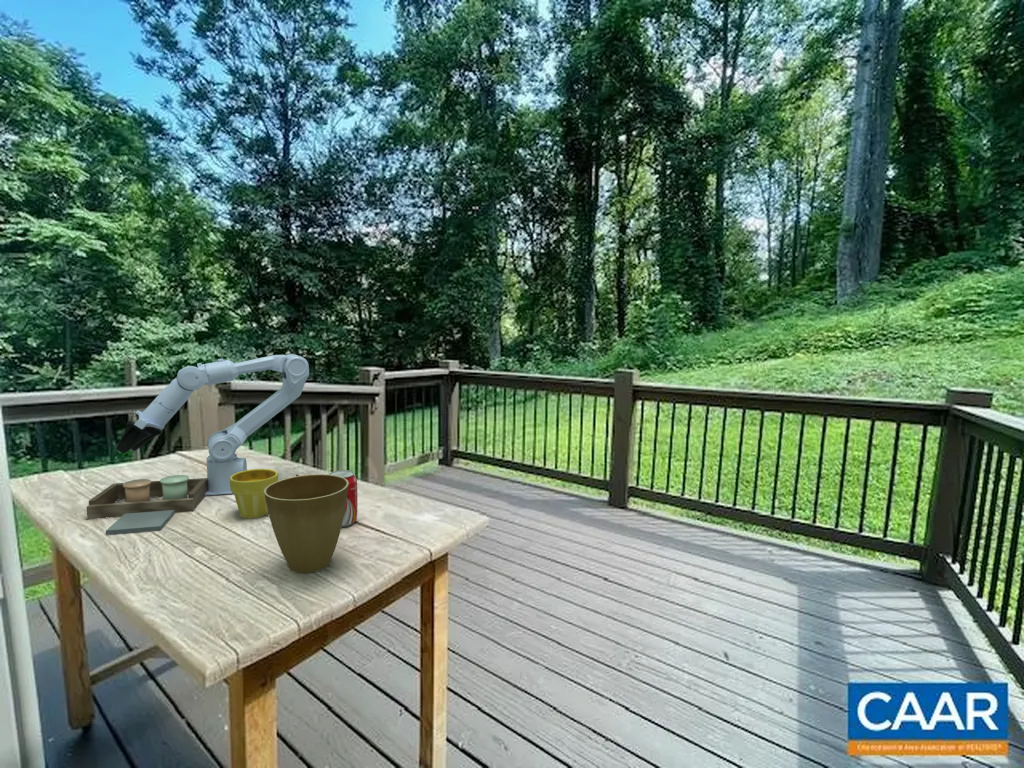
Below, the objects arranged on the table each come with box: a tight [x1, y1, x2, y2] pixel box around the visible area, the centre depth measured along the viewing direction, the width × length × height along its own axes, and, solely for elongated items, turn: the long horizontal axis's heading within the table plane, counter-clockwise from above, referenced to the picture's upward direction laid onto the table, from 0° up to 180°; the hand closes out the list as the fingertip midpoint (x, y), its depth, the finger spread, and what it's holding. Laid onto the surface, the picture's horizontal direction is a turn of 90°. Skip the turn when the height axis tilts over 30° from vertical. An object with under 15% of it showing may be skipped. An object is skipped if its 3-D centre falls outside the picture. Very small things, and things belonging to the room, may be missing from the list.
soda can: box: [327, 469, 358, 528], centre depth 117 cm, size 7×7×12 cm
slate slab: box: [105, 510, 176, 536], centre depth 114 cm, size 10×10×1 cm
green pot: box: [159, 474, 190, 500], centre depth 127 cm, size 6×6×6 cm
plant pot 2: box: [264, 473, 349, 575], centre depth 96 cm, size 15×15×16 cm
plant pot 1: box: [230, 468, 279, 519], centre depth 122 cm, size 10×10×10 cm
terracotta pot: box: [122, 478, 152, 503], centre depth 124 cm, size 6×6×6 cm
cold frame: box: [85, 477, 208, 520], centre depth 125 cm, size 21×14×4 cm
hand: (125, 449), depth 125 cm, fingers open, 7 cm apart
